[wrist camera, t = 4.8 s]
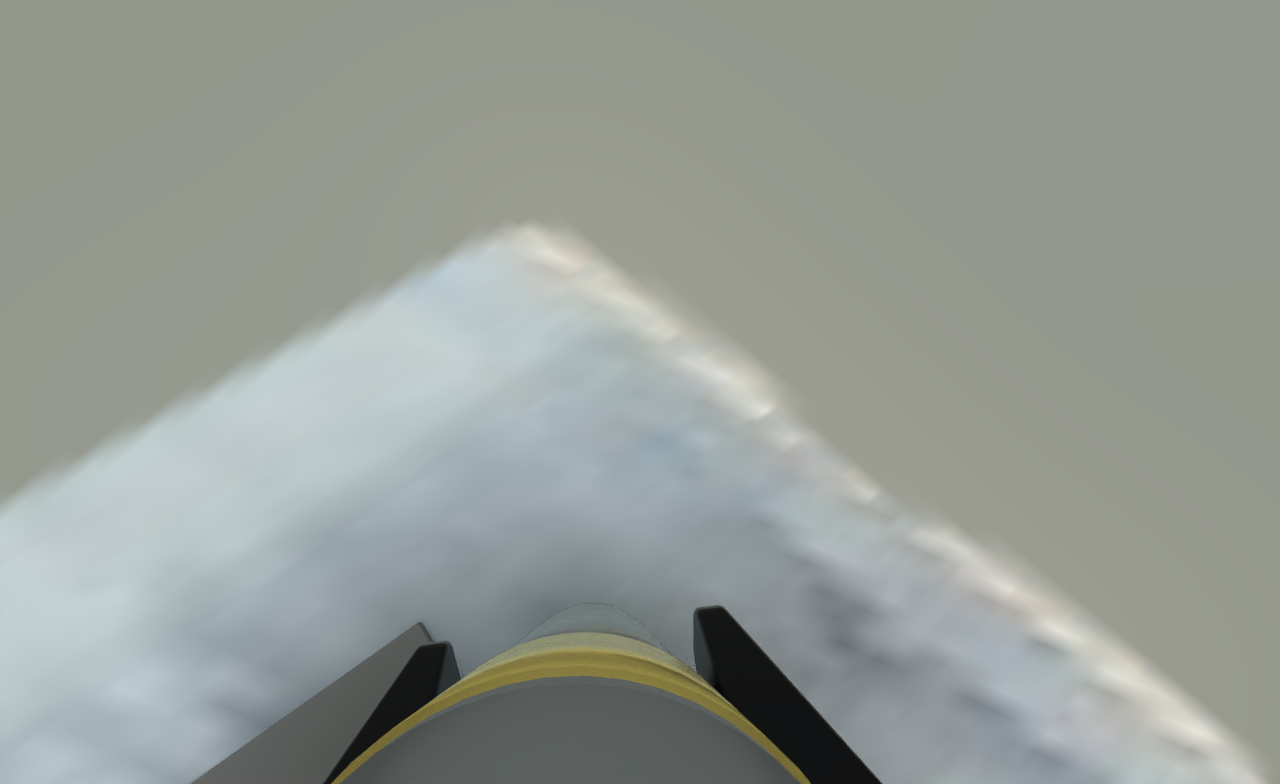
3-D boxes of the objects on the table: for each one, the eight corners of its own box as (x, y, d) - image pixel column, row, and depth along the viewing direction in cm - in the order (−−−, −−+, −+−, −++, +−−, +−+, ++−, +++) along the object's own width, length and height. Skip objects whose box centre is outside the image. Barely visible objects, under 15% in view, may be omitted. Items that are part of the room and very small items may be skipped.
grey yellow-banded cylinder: (693, 695, 15) (1093, 1170, 3) (571, 795, 15) (427, 1971, 2) (608, 571, 16) (645, 539, 4) (487, 661, 15) (20, 1005, 3)
